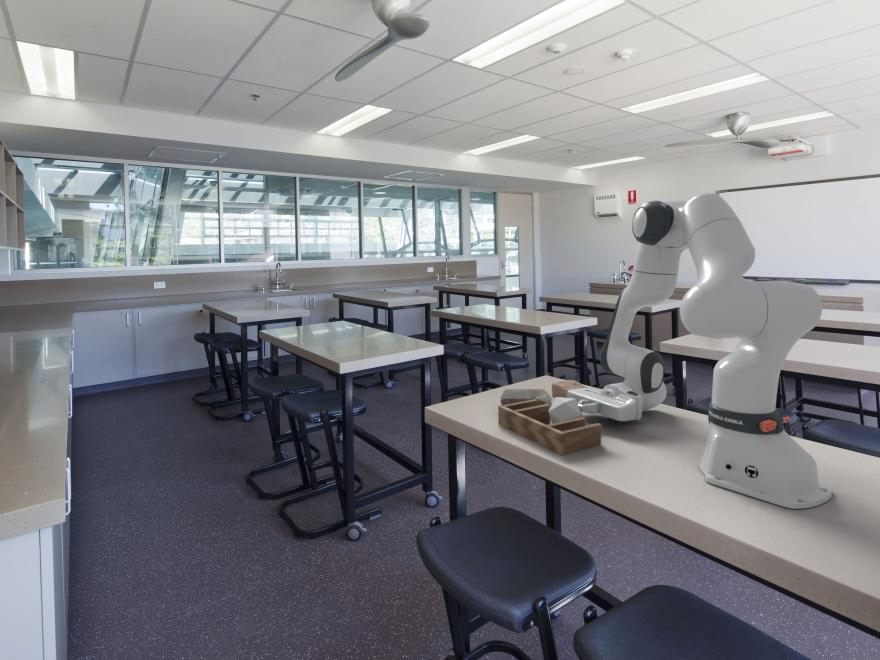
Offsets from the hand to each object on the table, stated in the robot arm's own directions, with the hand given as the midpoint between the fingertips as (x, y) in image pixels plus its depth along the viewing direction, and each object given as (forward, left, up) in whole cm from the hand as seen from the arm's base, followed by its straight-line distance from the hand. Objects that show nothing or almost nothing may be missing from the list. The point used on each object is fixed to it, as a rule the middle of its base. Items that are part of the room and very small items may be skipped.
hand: (577, 408), depth 134 cm
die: (+1, +3, -5) cm, 6 cm away
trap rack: (0, +10, -5) cm, 11 cm away
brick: (+18, -16, -6) cm, 25 cm away
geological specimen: (+18, +2, -5) cm, 19 cm away
